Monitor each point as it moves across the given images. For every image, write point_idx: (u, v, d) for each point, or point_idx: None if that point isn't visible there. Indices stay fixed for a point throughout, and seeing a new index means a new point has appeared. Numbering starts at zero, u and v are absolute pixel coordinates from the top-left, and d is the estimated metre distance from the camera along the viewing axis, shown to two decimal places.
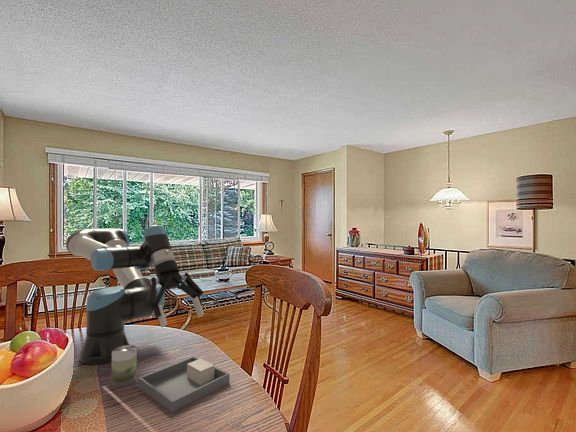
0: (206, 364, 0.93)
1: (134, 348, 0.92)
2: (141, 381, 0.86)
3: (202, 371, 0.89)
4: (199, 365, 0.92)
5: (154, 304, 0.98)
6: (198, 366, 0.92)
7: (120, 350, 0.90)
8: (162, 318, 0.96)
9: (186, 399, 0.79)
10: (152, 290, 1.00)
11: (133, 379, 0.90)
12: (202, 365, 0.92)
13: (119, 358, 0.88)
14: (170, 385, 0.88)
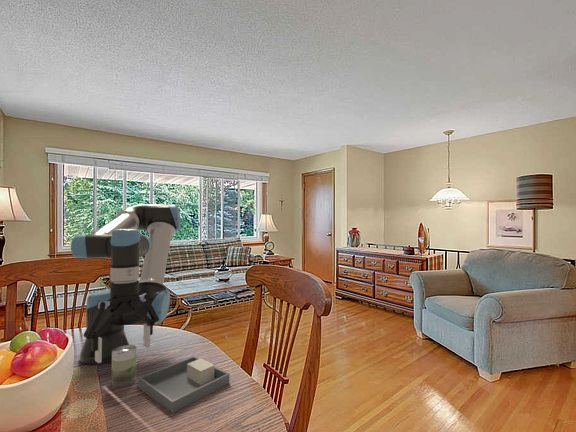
0: (206, 364, 0.93)
1: (134, 348, 0.92)
2: (141, 381, 0.86)
3: (202, 371, 0.89)
4: (199, 365, 0.92)
5: (93, 337, 0.84)
6: (198, 366, 0.92)
7: (120, 350, 0.90)
8: (98, 355, 0.84)
9: (186, 399, 0.79)
10: (96, 320, 0.84)
11: (133, 379, 0.90)
12: (202, 365, 0.92)
13: (119, 358, 0.88)
14: (170, 385, 0.88)
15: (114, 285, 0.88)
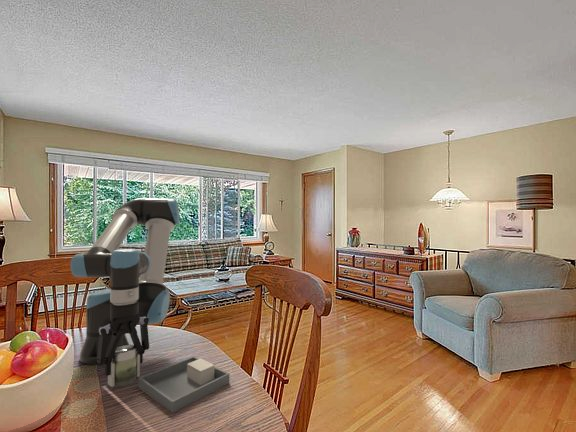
0: (206, 364, 0.93)
1: (134, 348, 0.92)
2: (141, 381, 0.86)
3: (202, 371, 0.89)
4: (199, 365, 0.92)
5: (106, 362, 0.86)
6: (198, 366, 0.92)
7: (120, 350, 0.90)
8: (111, 379, 0.87)
9: (186, 399, 0.79)
10: (103, 346, 0.85)
11: (133, 379, 0.90)
12: (202, 365, 0.92)
13: (119, 358, 0.88)
14: (170, 385, 0.88)
15: (114, 307, 0.88)
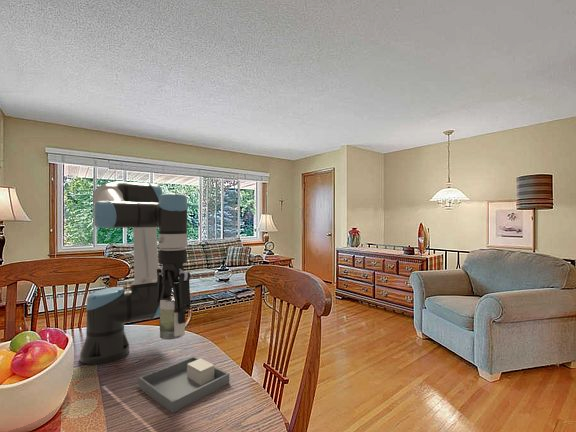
0: (206, 364, 0.93)
1: (171, 301, 0.83)
2: (141, 381, 0.86)
3: (202, 371, 0.89)
4: (199, 365, 0.92)
5: None
6: (198, 366, 0.92)
7: (169, 298, 0.86)
8: None
9: (186, 399, 0.79)
10: (157, 285, 0.89)
11: (165, 333, 0.83)
12: (202, 365, 0.92)
13: None
14: (170, 385, 0.88)
15: None
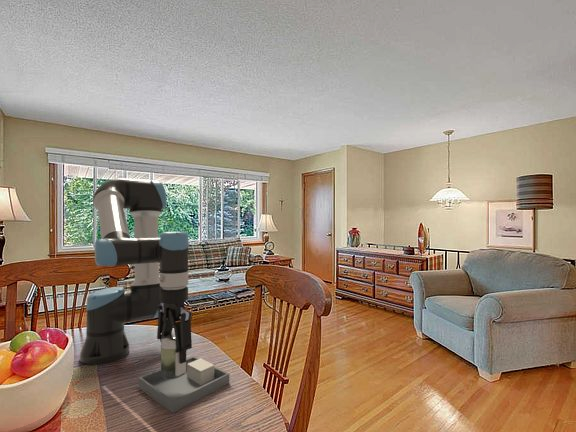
0: (206, 364, 0.93)
1: (172, 340, 0.83)
2: (141, 381, 0.86)
3: (202, 371, 0.89)
4: (199, 365, 0.92)
5: None
6: (198, 366, 0.92)
7: (171, 336, 0.86)
8: None
9: (186, 399, 0.79)
10: (158, 322, 0.89)
11: (166, 373, 0.82)
12: (202, 365, 0.92)
13: None
14: (170, 385, 0.88)
15: None
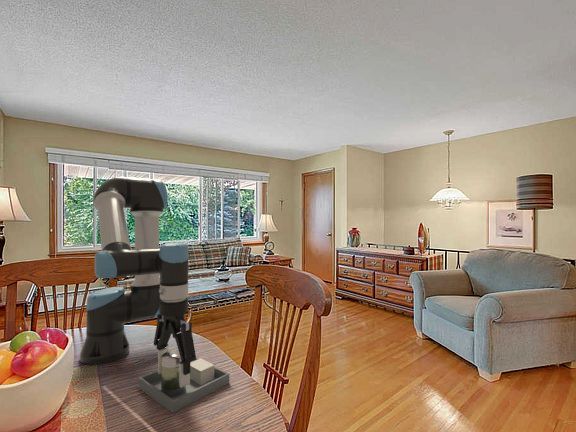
0: (206, 364, 0.93)
1: (172, 359, 0.83)
2: (141, 381, 0.86)
3: (202, 371, 0.89)
4: (199, 365, 0.92)
5: None
6: (198, 366, 0.92)
7: (171, 353, 0.86)
8: None
9: (186, 399, 0.79)
10: (156, 330, 0.89)
11: (166, 391, 0.82)
12: (202, 365, 0.92)
13: None
14: None
15: None
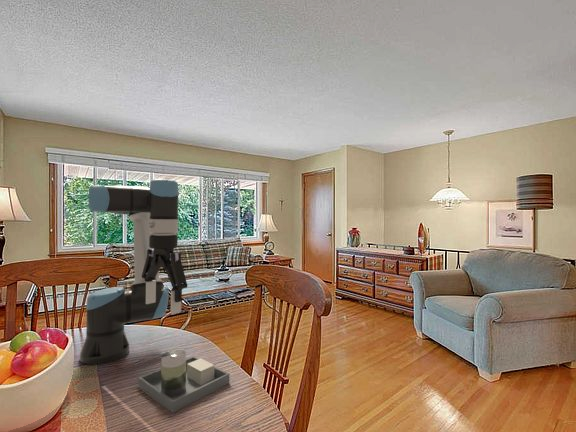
0: (206, 364, 0.93)
1: (172, 359, 0.83)
2: (141, 381, 0.86)
3: (202, 371, 0.89)
4: (199, 365, 0.92)
5: None
6: (198, 366, 0.92)
7: (171, 353, 0.86)
8: None
9: (186, 399, 0.79)
10: (145, 264, 0.92)
11: (166, 391, 0.82)
12: (202, 365, 0.92)
13: None
14: None
15: None
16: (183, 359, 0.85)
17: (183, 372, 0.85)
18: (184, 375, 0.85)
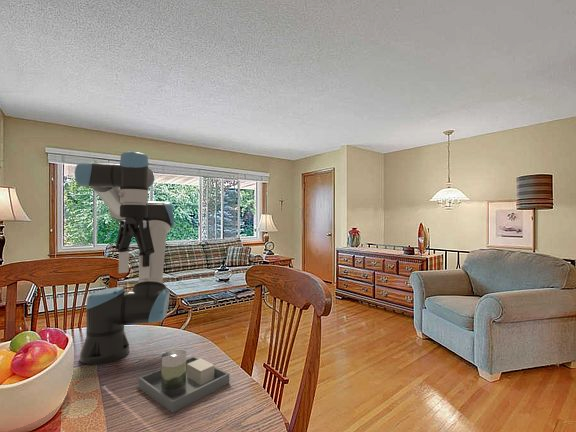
0: (206, 364, 0.93)
1: (172, 358, 0.83)
2: (141, 381, 0.86)
3: (202, 371, 0.89)
4: (199, 365, 0.92)
5: None
6: (198, 366, 0.92)
7: (171, 353, 0.86)
8: None
9: (186, 399, 0.79)
10: (118, 235, 0.96)
11: (166, 391, 0.82)
12: (202, 365, 0.92)
13: None
14: None
15: None
16: (183, 359, 0.85)
17: (183, 372, 0.85)
18: (184, 375, 0.85)
